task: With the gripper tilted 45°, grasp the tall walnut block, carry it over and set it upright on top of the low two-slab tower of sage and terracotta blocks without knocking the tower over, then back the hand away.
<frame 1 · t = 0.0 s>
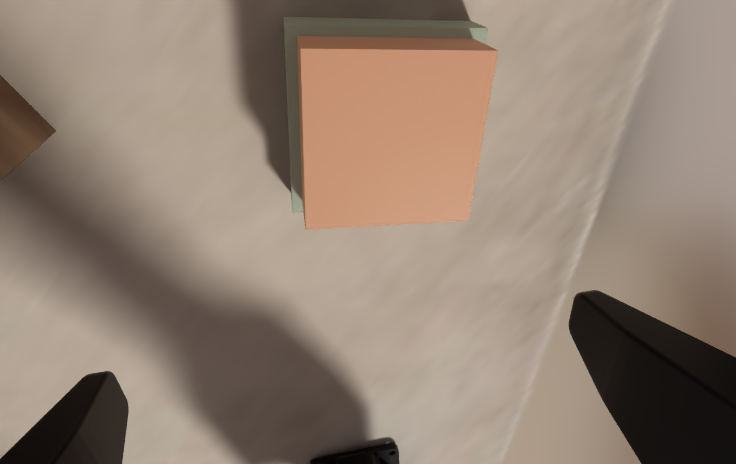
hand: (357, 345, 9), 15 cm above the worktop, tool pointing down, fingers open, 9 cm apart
tower top: (382, 124, 20), point 2 cm above the worktop, touching tower base
tower base: (373, 109, 23), on the worktop, touching tower top
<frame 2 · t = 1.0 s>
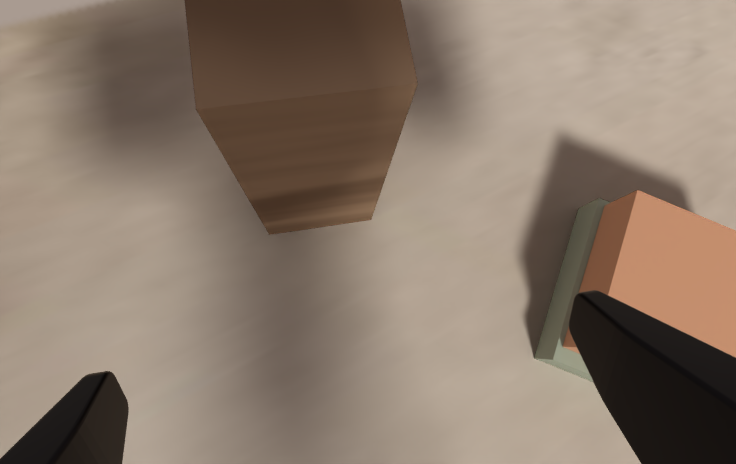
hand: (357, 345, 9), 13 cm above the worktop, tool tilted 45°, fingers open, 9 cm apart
tower top: (655, 303, 22), point 2 cm above the worktop, touching tower base
tower base: (625, 311, 24), on the worktop, touching tower top
walnut block: (313, 178, 24), on the worktop
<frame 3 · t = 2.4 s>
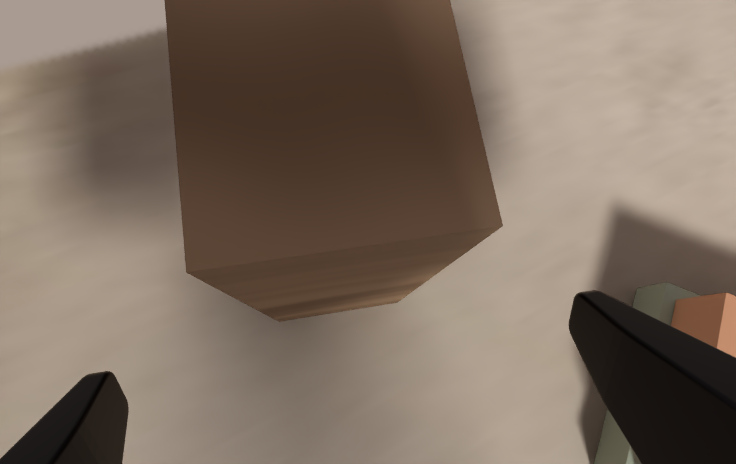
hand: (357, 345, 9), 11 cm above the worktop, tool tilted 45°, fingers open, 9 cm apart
tower base: (695, 409, 21), on the worktop, touching tower top
walnut block: (330, 253, 21), on the worktop
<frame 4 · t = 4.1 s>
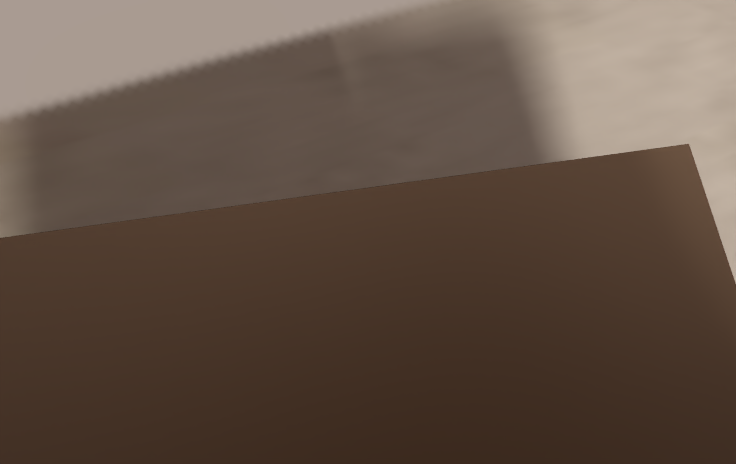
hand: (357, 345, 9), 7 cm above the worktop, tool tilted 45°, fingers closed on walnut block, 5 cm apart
walnut block: (352, 390, 15), on the worktop, touching gripper
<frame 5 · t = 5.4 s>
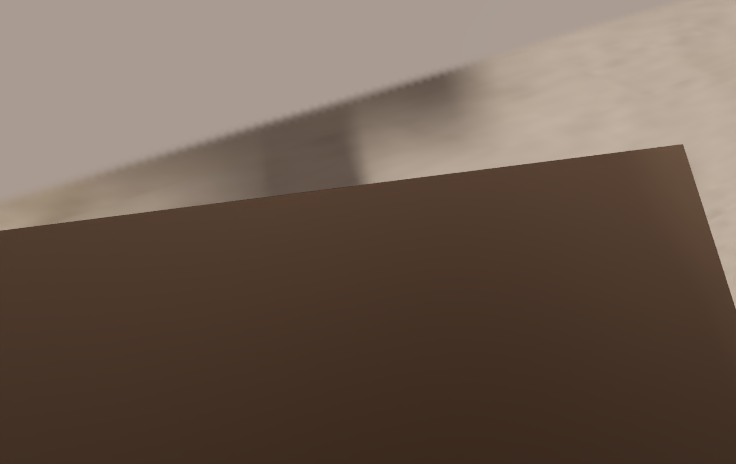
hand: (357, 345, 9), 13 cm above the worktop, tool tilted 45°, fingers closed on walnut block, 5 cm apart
walnut block: (358, 389, 16), point 6 cm above the worktop, touching gripper
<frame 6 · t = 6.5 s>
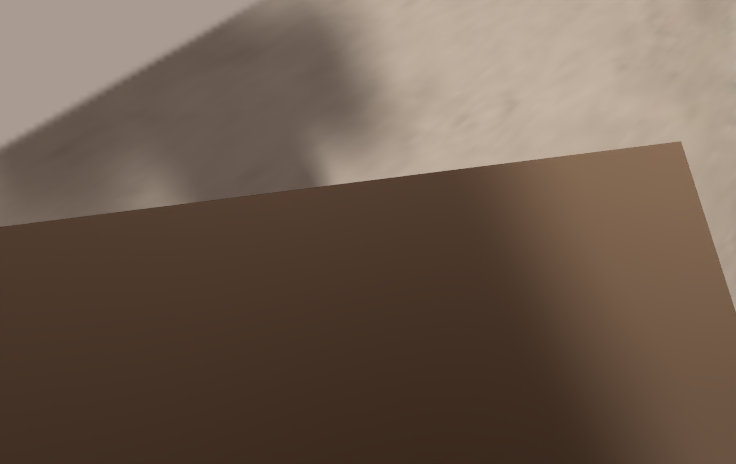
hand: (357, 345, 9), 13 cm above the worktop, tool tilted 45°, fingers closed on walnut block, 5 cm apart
walnut block: (356, 388, 16), point 7 cm above the worktop, touching gripper
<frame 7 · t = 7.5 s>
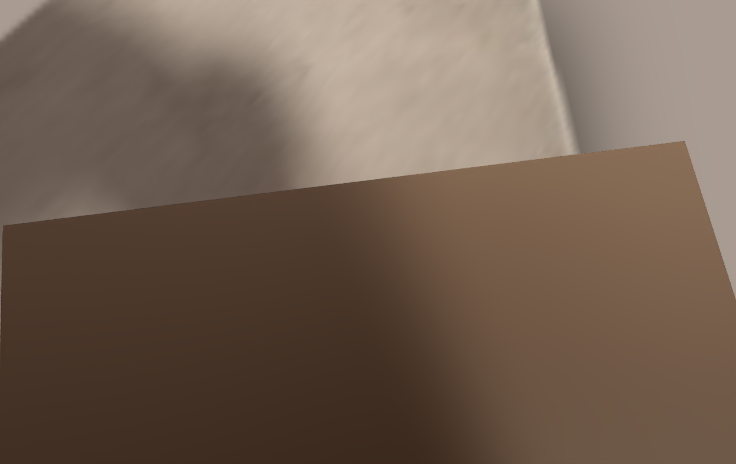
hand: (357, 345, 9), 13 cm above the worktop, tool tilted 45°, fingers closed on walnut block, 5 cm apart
walnut block: (356, 388, 16), point 7 cm above the worktop, touching gripper
when the fingers open (13 cm above the worktop, at t = 8.6 s): walnut block drops 2 cm, resting on tower top.
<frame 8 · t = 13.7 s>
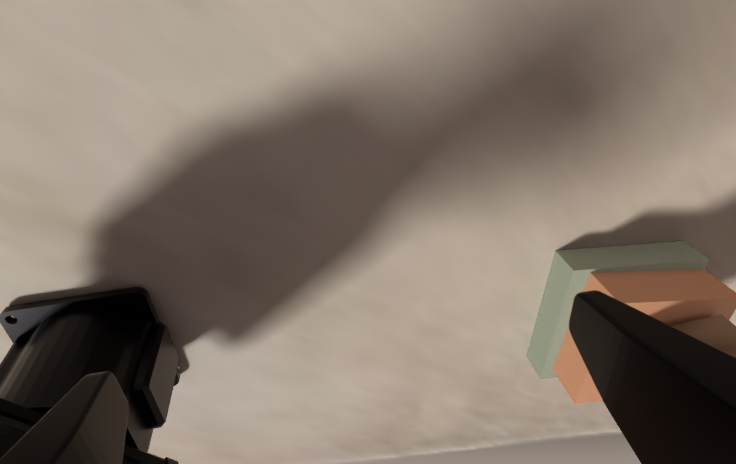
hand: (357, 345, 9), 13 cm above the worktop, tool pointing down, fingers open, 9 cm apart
tower top: (625, 321, 27), point 2 cm above the worktop, touching tower base, walnut block
tower base: (595, 294, 29), on the worktop, touching tower top
walnut block: (662, 357, 25), point 5 cm above the worktop, touching tower top
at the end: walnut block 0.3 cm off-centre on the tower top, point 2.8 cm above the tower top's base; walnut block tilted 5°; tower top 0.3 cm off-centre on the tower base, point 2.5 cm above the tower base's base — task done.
